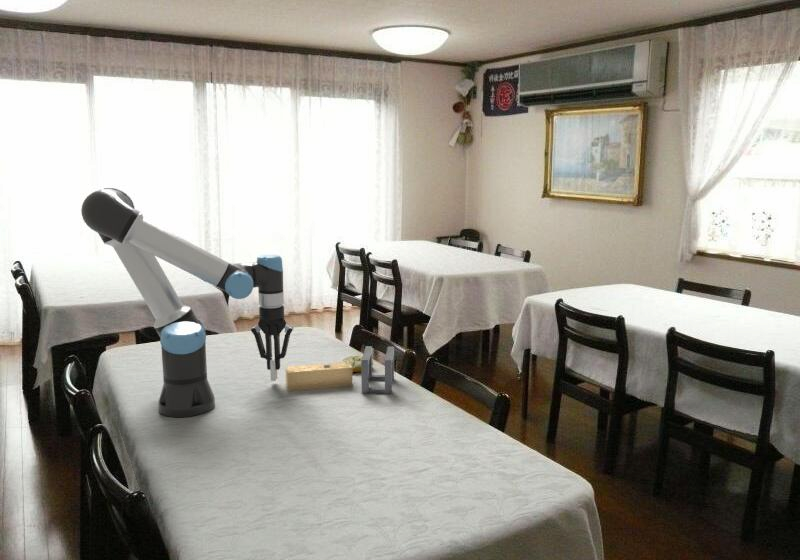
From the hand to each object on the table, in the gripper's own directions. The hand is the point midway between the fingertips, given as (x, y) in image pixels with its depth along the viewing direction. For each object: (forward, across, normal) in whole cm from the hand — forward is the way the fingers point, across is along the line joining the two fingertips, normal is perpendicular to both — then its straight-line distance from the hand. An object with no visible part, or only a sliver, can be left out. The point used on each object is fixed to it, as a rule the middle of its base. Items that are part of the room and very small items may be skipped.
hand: (274, 379), depth 204 cm
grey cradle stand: (+2, -33, 0) cm, 33 cm away
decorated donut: (+2, -24, -17) cm, 29 cm away
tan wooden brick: (+2, -14, 0) cm, 14 cm away
